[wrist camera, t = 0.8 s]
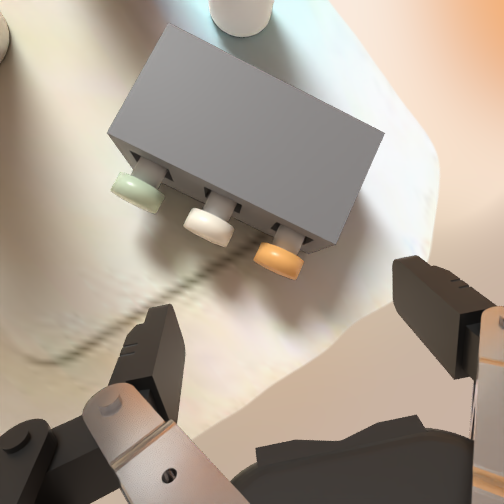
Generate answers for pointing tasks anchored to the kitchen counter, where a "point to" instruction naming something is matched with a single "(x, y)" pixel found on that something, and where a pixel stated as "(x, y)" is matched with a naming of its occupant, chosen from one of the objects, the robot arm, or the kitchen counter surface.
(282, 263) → the button orange
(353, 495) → the robot arm
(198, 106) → the control box
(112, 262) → the kitchen counter surface
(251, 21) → the can
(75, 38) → the kitchen counter surface
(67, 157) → the kitchen counter surface
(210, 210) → the button cream
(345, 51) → the kitchen counter surface
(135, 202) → the button green
